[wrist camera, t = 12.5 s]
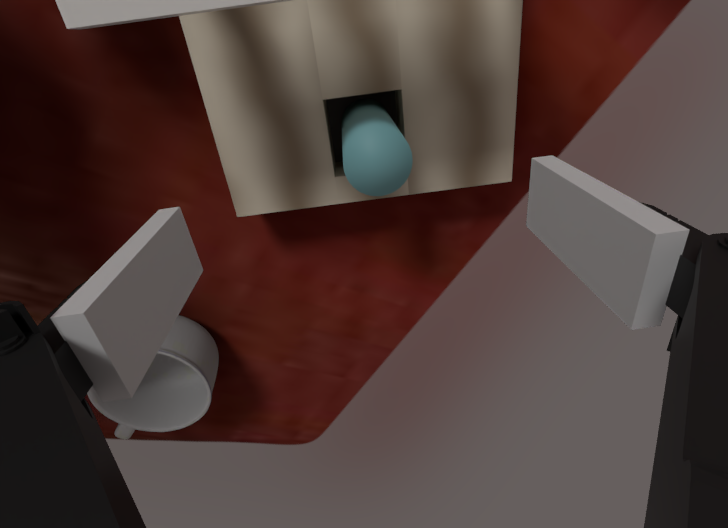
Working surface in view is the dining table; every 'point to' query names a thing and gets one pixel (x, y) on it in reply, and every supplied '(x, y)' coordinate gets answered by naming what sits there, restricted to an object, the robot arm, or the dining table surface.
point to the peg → (373, 149)
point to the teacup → (169, 384)
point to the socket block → (356, 92)
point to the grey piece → (139, 10)
